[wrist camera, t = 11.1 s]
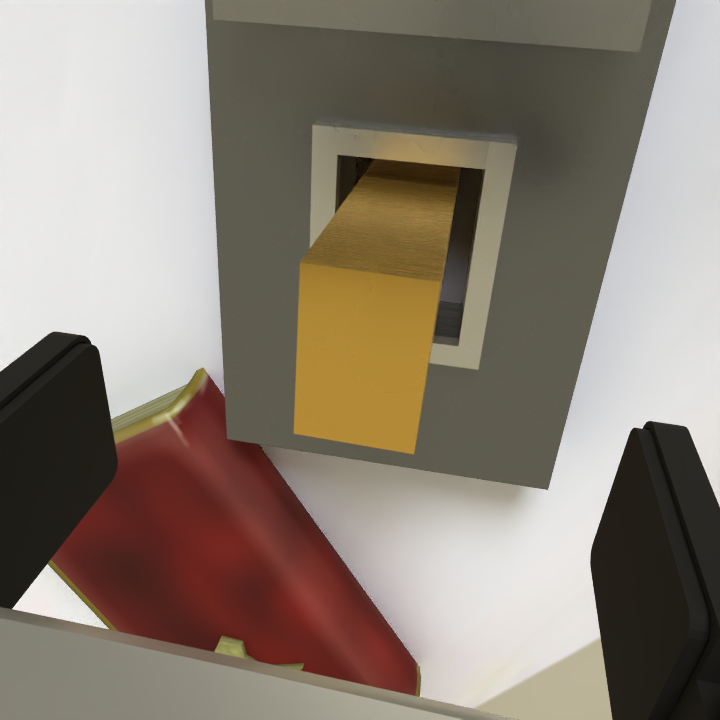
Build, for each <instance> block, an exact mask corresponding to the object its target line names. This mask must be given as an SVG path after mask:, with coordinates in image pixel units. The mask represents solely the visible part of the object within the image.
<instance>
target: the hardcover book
mask: <svg viewBox="0 0 720 720" xmlns="http://www.w3.org/2000/svg"><path fill="white" fill-rule="evenodd" d="M111 423H112V429H113V435H114V440H115V446H116V452H117V458H118V468H117V472H116V475H115V477H114V479H113V480H112V482H111V483H110V484H109V486H108V487H107V488H106V489H105V491H104V492H103V493H102V495H101V496H100V497H99V498H98V500H97V501H96V502H95V503H94V505H93V506H92V507H91V509H90V510H89V511H88V512H87V514H86V515H85V516H84V518H83V519H82V520H81V521H80V523H79V524H78V525H77V526H76V528H75V529H74V530H73V532H72V533H71V534H70V535H69V537H68V538H67V539H66V541H65V542H64V543H63V544H62V546H61V547H60V548H59V549H58V551H57V552H56V553H55V555H54V556H53V557H52V558H51V560H50V561H49V562H48V563H47V564H48V565H49V566H50V567H51V568H52V569H53V570H54V571H55V572H56V573H57V574H58V575H59V576H60V577H61V579H62V580H63V581H64V582H65V583H66V584H67V585H68V586H69V587H70V588H71V589H72V590H73V591H74V592H75V593H76V594H77V595H78V596H79V598H80V599H81V600H82V601H83V602H84V603H85V604H86V605H87V606H88V607H89V608H90V609H91V610H92V611H93V612H94V613H95V614H96V615H97V617H98V618H99V619H100V620H101V621H102V622H103V623H104V624H105V625H106V626H107V627H108V628H109V629H110V630H113V631H118V632H123V633H127V634H132V635H137V636H141V637H146V638H151V639H155V640H160V641H165V642H169V643H174V644H179V645H183V646H188V647H193V648H197V649H202V650H207V651H211V652H216V653H221V654H225V655H230V656H234V657H239V658H244V659H248V660H253V661H258V662H262V663H267V664H272V665H276V666H281V667H285V668H290V669H295V670H299V671H304V672H309V673H313V674H318V675H322V676H327V677H331V678H336V679H340V680H345V681H349V682H354V683H358V684H363V685H367V686H372V687H376V688H381V689H385V690H390V691H395V692H399V693H404V694H408V695H413V696H417V697H419V696H420V683H421V676H420V667H419V666H418V664H417V663H416V661H415V660H414V659H413V657H412V656H411V655H410V653H409V652H408V650H407V649H406V648H405V646H404V645H403V643H402V642H401V641H400V639H399V638H398V637H397V635H396V634H395V632H394V631H393V630H392V628H391V627H390V625H389V624H388V623H387V621H386V620H385V619H384V617H383V616H382V614H381V613H380V612H379V610H378V609H377V607H376V606H375V605H374V603H373V602H372V601H371V599H370V598H369V596H368V595H367V594H366V592H365V591H364V590H363V588H362V587H361V585H360V584H359V583H358V581H357V580H356V578H355V577H354V576H353V574H352V573H351V572H350V570H349V569H348V567H347V566H346V565H345V563H344V562H343V560H342V559H341V558H340V556H339V555H338V554H337V552H336V551H335V549H334V548H333V547H332V545H331V544H330V542H329V541H328V540H327V538H326V537H325V536H324V534H323V533H322V531H321V530H320V529H319V527H318V526H317V524H316V523H315V522H314V520H313V519H312V518H311V516H310V515H309V513H308V512H307V511H306V509H305V508H304V506H303V505H302V504H301V502H300V501H299V500H298V498H297V497H296V495H295V494H294V493H293V491H292V490H291V488H290V487H289V486H288V484H287V483H286V482H285V480H284V479H283V477H282V476H281V475H280V473H279V472H278V470H277V469H276V468H275V466H274V465H273V464H272V462H271V461H270V459H269V458H268V457H267V455H266V454H265V452H264V451H263V450H262V448H261V447H260V446H259V444H255V443H249V442H243V441H236V440H230V439H227V428H226V408H225V397H224V396H223V394H222V393H221V392H220V390H219V389H218V387H217V386H216V385H215V383H214V382H213V380H212V379H211V378H210V376H209V375H208V374H207V372H206V371H205V369H204V368H201V369H199V370H197V371H196V373H195V374H194V376H193V378H192V379H191V380H190V382H189V383H188V384H187V385H185V386H183V387H180V388H178V389H176V390H174V391H172V392H170V393H167V394H165V395H163V396H161V397H159V398H157V399H155V400H152V401H150V402H148V403H146V404H144V405H142V406H139V407H137V408H135V409H133V410H131V411H129V412H127V413H124V414H122V415H120V416H118V417H116V418H114V419H111Z"/></svg>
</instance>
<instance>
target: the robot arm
mask: <svg viewBox="0 0 720 720" xmlns="http://www.w3.org/2000/svg"><path fill="white" fill-rule="evenodd" d="M117 468H118V458H117V452H116V446H115V440H114V435H113V429H112V423H111V417H110V411H109V406H108V400H107V394H106V388H105V383H104V377H103V371H102V365H101V359H100V354H99V350H98V349H97V347H96V346H94V345H92V344H91V341H90V340H89V339H88V338H87V337H86V336H82V335H76V334H69V333H62V332H52V333H50V334H48V335H47V336H46V337H44V338H43V339H42V340H41V341H39V342H38V343H37V344H35V345H34V346H33V347H32V348H30V349H29V350H28V351H26V352H25V353H24V354H23V355H21V356H20V357H19V358H18V359H16V360H15V361H14V362H12V363H11V364H10V365H9V366H7V367H6V368H5V369H3V370H2V371H1V372H0V720H518V719H514V718H510V717H505V716H501V715H497V714H493V713H489V712H484V711H480V710H476V709H471V708H467V707H462V706H458V705H453V704H449V703H444V702H440V701H435V700H431V699H426V698H422V697H417V696H413V695H408V694H404V693H399V692H395V691H390V690H385V689H381V688H376V687H372V686H367V685H363V684H358V683H354V682H349V681H345V680H340V679H336V678H331V677H327V676H322V675H318V674H313V673H309V672H304V671H299V670H295V669H290V668H285V667H281V666H276V665H272V664H267V663H262V662H258V661H253V660H248V659H244V658H239V657H234V656H230V655H225V654H221V653H216V652H211V651H207V650H202V649H197V648H193V647H188V646H183V645H179V644H174V643H169V642H165V641H160V640H155V639H151V638H146V637H141V636H137V635H132V634H127V633H123V632H118V631H113V630H108V629H104V628H99V627H94V626H89V625H84V624H80V623H75V622H70V621H65V620H61V619H56V618H51V617H46V616H41V615H37V614H32V613H27V612H22V611H17V610H13V609H12V608H13V607H14V606H15V604H16V603H17V602H18V601H19V599H20V598H21V597H22V595H23V594H24V593H25V592H26V590H27V589H28V588H29V586H30V585H31V584H32V583H33V581H34V580H35V579H36V578H37V576H38V575H39V574H40V572H41V571H42V570H43V569H44V567H45V566H46V565H47V563H48V562H49V561H50V560H51V558H52V557H53V556H54V555H55V553H56V552H57V551H58V549H59V548H60V547H61V546H62V544H63V543H64V542H65V541H66V539H67V538H68V537H69V535H70V534H71V533H72V532H73V530H74V529H75V528H76V526H77V525H78V524H79V523H80V521H81V520H82V519H83V518H84V516H85V515H86V514H87V512H88V511H89V510H90V509H91V507H92V506H93V505H94V503H95V502H96V501H97V500H98V498H99V497H100V496H101V495H102V493H103V492H104V491H105V489H106V488H107V487H108V486H109V484H110V483H111V482H112V480H113V479H114V477H115V475H116V472H117ZM590 564H591V573H592V580H593V587H594V594H595V601H596V608H597V614H598V621H599V628H600V635H601V642H602V649H603V656H604V663H605V670H606V677H607V684H608V691H609V697H610V705H611V712H612V719H613V720H720V507H719V504H718V502H717V499H716V497H715V494H714V492H713V490H712V487H711V485H710V482H709V480H708V477H707V475H706V472H705V470H704V467H703V465H702V462H701V460H700V457H699V455H698V452H697V450H696V447H695V445H694V442H693V440H692V437H691V435H690V433H689V430H688V429H687V427H684V426H679V425H673V424H666V423H659V422H653V421H648V422H646V424H645V425H644V427H643V429H640V428H633V429H632V430H631V432H630V435H629V437H628V440H627V443H626V446H625V449H624V452H623V455H622V458H621V461H620V464H619V467H618V470H617V473H616V476H615V479H614V482H613V485H612V488H611V491H610V494H609V497H608V500H607V503H606V506H605V509H604V512H603V515H602V518H601V521H600V524H599V527H598V530H597V533H596V536H595V539H594V542H593V545H592V550H591V562H590Z"/></svg>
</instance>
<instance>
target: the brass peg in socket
mask: <svg viewBox="0 0 720 720" xmlns="http://www.w3.org/2000/svg"><path fill="white" fill-rule="evenodd" d="M460 170H461V167H455V166H445V165H436V164H426V163H416V162H406V161H396V160H386V159H376V158H375V159H374V161H373V162H372V163H371V165H370V166H369V168H368V169H367V170H366V172H365V173H364V174H363V176H362V177H361V179H360V180H359V181H358V183H357V184H356V186H355V187H354V188H353V190H352V191H351V192H350V194H349V195H348V197H347V198H346V199H345V201H344V202H343V204H342V205H341V206H340V208H339V209H338V210H337V212H336V213H335V215H334V216H333V217H332V219H331V220H330V222H329V223H328V224H327V226H326V227H325V228H324V230H323V231H322V233H321V234H320V235H319V237H318V238H317V240H316V241H315V242H314V244H313V245H312V246H311V248H310V249H309V251H308V252H307V253H306V255H305V256H304V257H303V259H302V260H301V262H300V276H299V303H298V330H297V356H296V383H295V410H294V434H299V435H305V436H310V437H316V438H322V439H328V440H333V441H339V442H345V443H351V444H357V445H362V446H368V447H374V448H380V449H386V450H391V451H397V452H403V453H409V454H414V452H415V446H416V440H417V434H418V428H419V422H420V417H421V411H422V405H423V399H424V393H425V387H426V381H427V375H428V369H429V363H430V357H431V351H432V345H433V339H434V333H435V328H436V322H437V316H438V310H439V304H440V298H441V292H442V286H443V280H444V273H445V267H446V260H447V254H448V248H449V241H450V235H451V228H452V222H453V215H454V209H455V203H456V196H457V190H458V183H459V177H460Z"/></svg>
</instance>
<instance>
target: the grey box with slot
mask: <svg viewBox="0 0 720 720" xmlns="http://www.w3.org/2000/svg"><path fill="white" fill-rule="evenodd" d="M675 3H676V0H205V10H206V30H207V50H208V70H209V90H210V110H211V130H212V150H213V169H214V189H215V209H216V229H217V249H218V269H219V289H220V309H221V329H222V349H223V368H224V388H225V408H226V428H227V439H230V440H236V441H243V442H249V443H255V444H262V445H268V446H274V447H281V448H287V449H293V450H300V451H306V452H312V453H319V454H325V455H331V456H338V457H344V458H350V459H357V460H363V461H369V462H376V463H382V464H388V465H394V466H401V467H407V468H413V469H420V470H426V471H432V472H439V473H445V474H451V475H458V476H464V477H470V478H477V479H483V480H489V481H496V482H502V483H508V484H515V485H521V486H527V487H534V488H540V489H546V490H548V488H549V484H550V480H551V476H552V472H553V469H554V465H555V461H556V457H557V453H558V449H559V446H560V442H561V438H562V434H563V430H564V427H565V423H566V419H567V415H568V411H569V407H570V404H571V400H572V396H573V392H574V388H575V385H576V381H577V377H578V373H579V369H580V365H581V362H582V358H583V354H584V350H585V346H586V343H587V339H588V335H589V331H590V327H591V323H592V320H593V316H594V312H595V308H596V304H597V301H598V297H599V293H600V289H601V285H602V281H603V278H604V274H605V270H606V266H607V262H608V259H609V255H610V251H611V247H612V243H613V239H614V236H615V232H616V228H617V224H618V220H619V217H620V213H621V209H622V205H623V201H624V197H625V194H626V190H627V186H628V182H629V178H630V175H631V171H632V167H633V163H634V159H635V156H636V152H637V148H638V144H639V140H640V136H641V133H642V129H643V125H644V121H645V117H646V114H647V110H648V106H649V102H650V98H651V94H652V91H653V87H654V83H655V79H656V75H657V72H658V68H659V64H660V60H661V56H662V52H663V49H664V45H665V41H666V37H667V33H668V30H669V26H670V22H671V18H672V14H673V10H674V7H675ZM357 157H366V158H376V159H386V160H396V161H406V162H416V163H426V164H436V165H445V166H455V167H465V168H475V169H483V170H482V177H481V184H480V190H479V197H478V204H477V210H476V217H475V224H474V230H473V237H472V243H471V250H470V257H469V263H468V270H467V277H466V283H465V290H464V297H463V303H462V304H458V303H450V302H442V301H440V304H439V310H438V316H437V322H436V328H435V333H434V339H433V345H432V351H431V357H430V363H429V369H428V375H427V381H426V387H425V393H424V399H423V405H422V411H421V417H420V422H419V428H418V434H417V440H416V446H415V452H414V454H409V453H403V452H397V451H391V450H386V449H380V448H374V447H368V446H362V445H357V444H351V443H345V442H339V441H333V440H328V439H322V438H316V437H310V436H305V435H299V434H294V410H295V383H296V356H297V330H298V303H299V276H300V262H301V260H302V259H303V257H304V256H305V255H306V253H307V252H308V251H309V249H310V248H311V246H312V245H313V244H314V242H315V241H316V240H317V238H318V237H319V235H320V234H321V233H322V231H323V230H324V228H325V227H326V226H327V224H328V223H329V222H330V220H331V219H332V217H333V216H334V215H335V213H336V212H337V210H338V209H339V208H340V206H341V205H342V204H343V202H344V201H345V199H346V198H347V197H348V195H349V194H350V192H351V191H352V190H353V188H354V187H355V179H356V161H357Z"/></svg>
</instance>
